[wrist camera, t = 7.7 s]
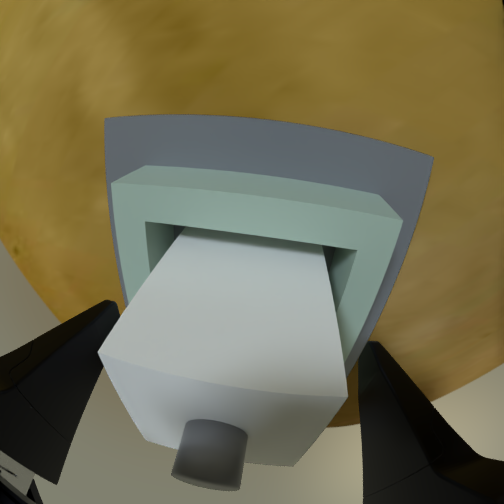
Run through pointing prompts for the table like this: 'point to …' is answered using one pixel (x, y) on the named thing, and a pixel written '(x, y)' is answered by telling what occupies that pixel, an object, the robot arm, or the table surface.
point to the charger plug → (230, 354)
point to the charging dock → (267, 199)
